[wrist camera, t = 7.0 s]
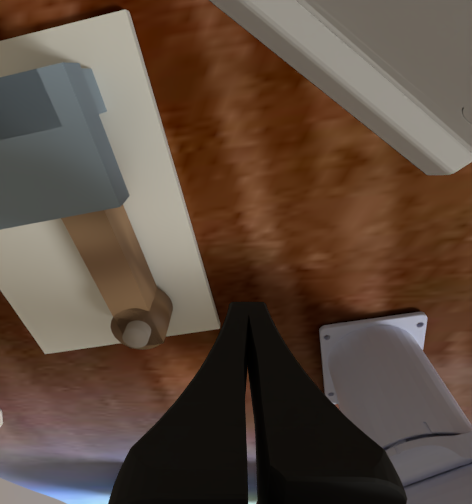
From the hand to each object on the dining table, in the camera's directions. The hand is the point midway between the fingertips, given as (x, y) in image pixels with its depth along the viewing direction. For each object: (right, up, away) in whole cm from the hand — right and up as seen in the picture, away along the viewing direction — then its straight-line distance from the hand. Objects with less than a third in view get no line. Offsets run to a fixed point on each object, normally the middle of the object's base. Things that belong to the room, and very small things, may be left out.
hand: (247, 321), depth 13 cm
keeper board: (-11, +5, +8) cm, 14 cm away
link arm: (-8, +3, +8) cm, 11 cm away
